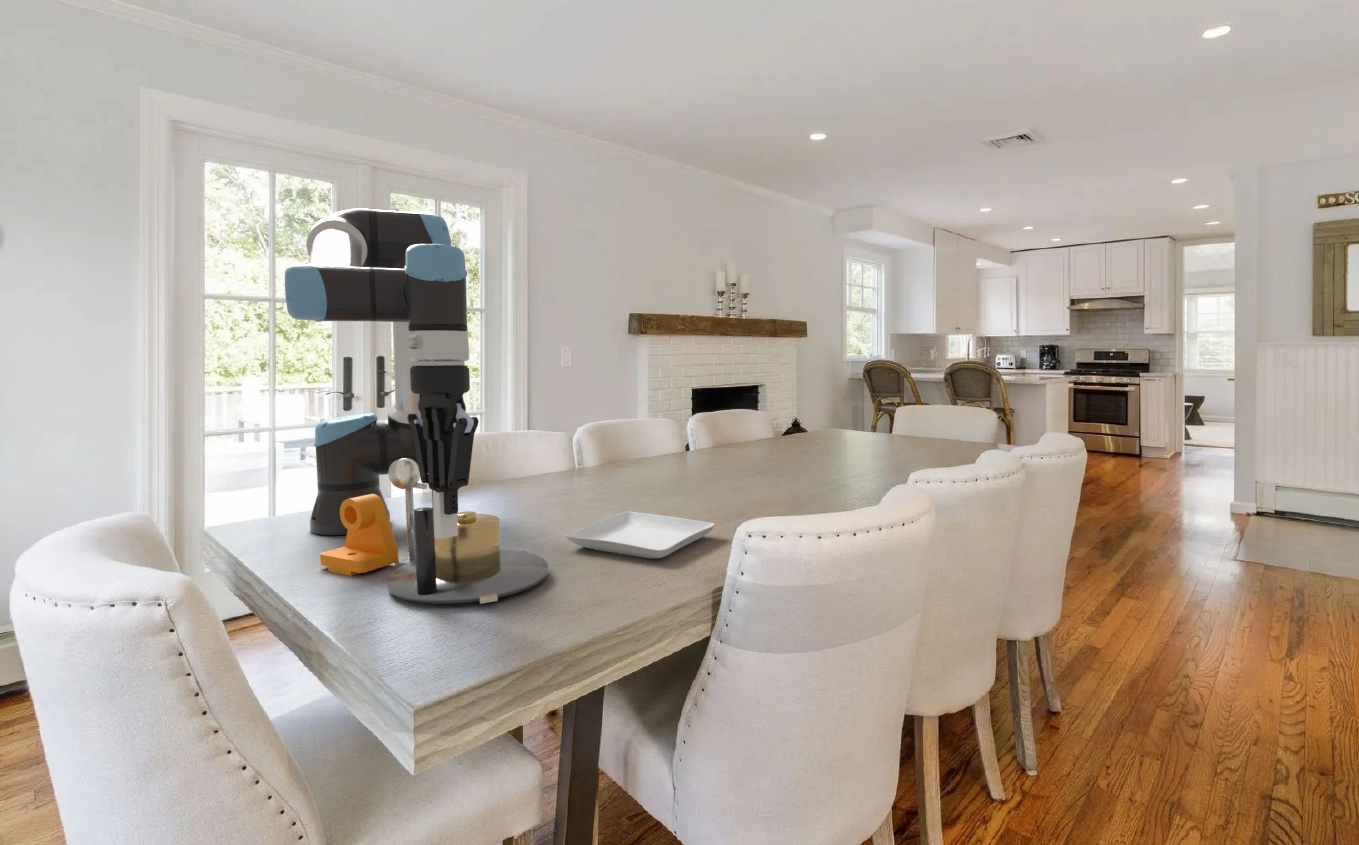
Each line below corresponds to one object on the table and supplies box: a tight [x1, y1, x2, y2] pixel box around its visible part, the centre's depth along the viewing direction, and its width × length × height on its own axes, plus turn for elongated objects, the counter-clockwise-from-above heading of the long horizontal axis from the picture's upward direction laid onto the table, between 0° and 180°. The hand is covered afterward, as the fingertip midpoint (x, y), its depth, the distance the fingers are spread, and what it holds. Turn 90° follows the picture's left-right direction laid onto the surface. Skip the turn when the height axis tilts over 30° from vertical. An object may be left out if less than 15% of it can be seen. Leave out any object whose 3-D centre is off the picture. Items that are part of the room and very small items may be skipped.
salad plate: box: [565, 510, 716, 559], centre depth 131 cm, size 21×21×3 cm
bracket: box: [319, 494, 400, 577], centre depth 116 cm, size 11×7×12 cm, turn 63°
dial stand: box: [387, 458, 428, 570], centre depth 116 cm, size 7×4×18 cm, turn 83°
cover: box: [434, 510, 501, 582], centre depth 108 cm, size 10×10×9 cm
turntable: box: [386, 506, 549, 605], centre depth 108 cm, size 24×24×13 cm
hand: (446, 536), depth 95 cm, fingers closed
